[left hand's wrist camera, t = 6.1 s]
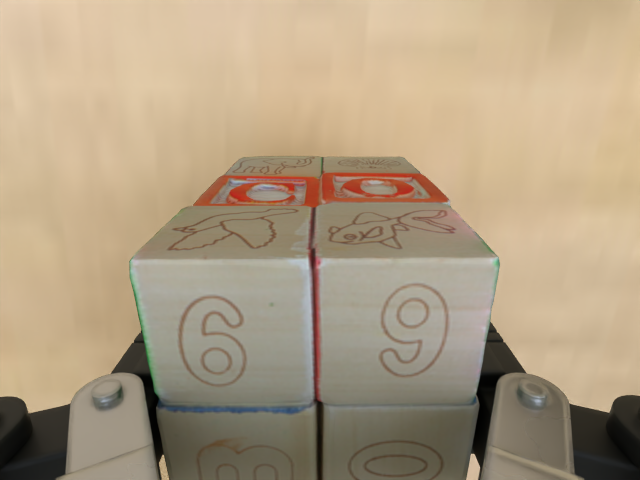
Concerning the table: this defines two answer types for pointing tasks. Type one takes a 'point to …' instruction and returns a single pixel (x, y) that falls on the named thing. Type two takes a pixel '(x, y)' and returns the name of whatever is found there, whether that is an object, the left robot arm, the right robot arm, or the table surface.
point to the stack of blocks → (316, 324)
